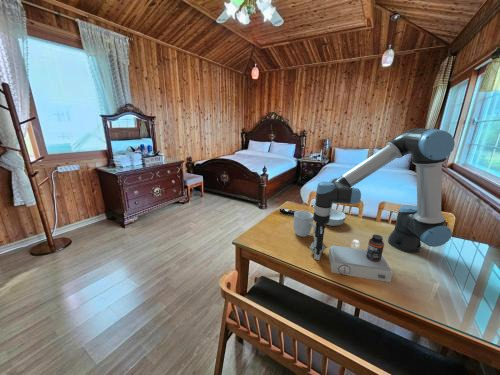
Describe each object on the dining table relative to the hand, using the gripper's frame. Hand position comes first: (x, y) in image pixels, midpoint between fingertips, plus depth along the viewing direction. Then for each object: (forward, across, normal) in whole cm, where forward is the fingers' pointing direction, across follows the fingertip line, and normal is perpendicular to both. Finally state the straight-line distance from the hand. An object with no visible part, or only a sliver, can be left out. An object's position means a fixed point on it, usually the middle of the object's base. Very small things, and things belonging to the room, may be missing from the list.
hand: (316, 253), depth 112 cm
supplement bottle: (-6, +6, +24) cm, 25 cm away
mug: (+1, -18, -7) cm, 19 cm away
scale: (0, +6, +18) cm, 19 cm away
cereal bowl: (+1, -39, +11) cm, 41 cm away
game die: (+1, 0, 0) cm, 1 cm away
